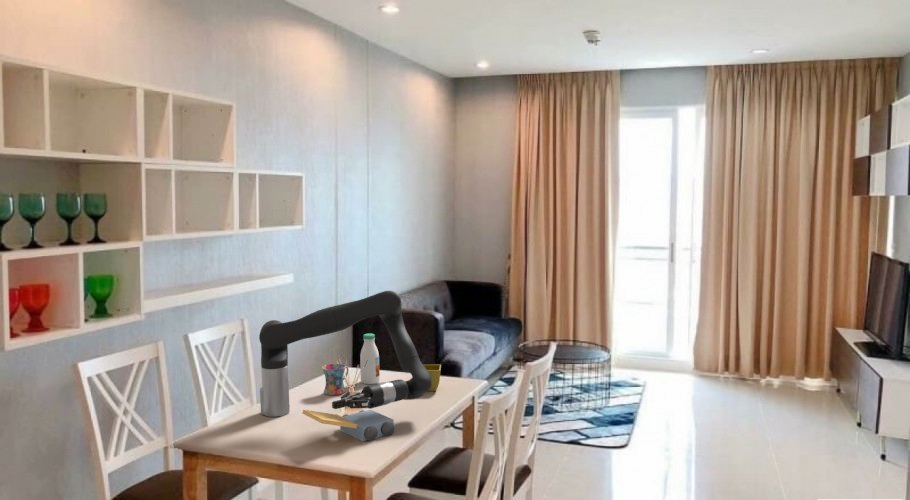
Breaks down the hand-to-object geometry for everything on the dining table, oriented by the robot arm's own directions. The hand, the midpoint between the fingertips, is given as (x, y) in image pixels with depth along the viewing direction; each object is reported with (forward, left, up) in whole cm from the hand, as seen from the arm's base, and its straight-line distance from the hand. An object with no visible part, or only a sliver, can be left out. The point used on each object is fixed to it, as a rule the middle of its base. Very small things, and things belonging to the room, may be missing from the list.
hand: (333, 405), depth 231 cm
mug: (-19, +50, -12) cm, 55 cm away
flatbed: (+8, +10, -11) cm, 17 cm away
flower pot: (+16, +60, -12) cm, 63 cm away
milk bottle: (-11, +66, -12) cm, 68 cm away
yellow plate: (+3, +4, -6) cm, 8 cm away
